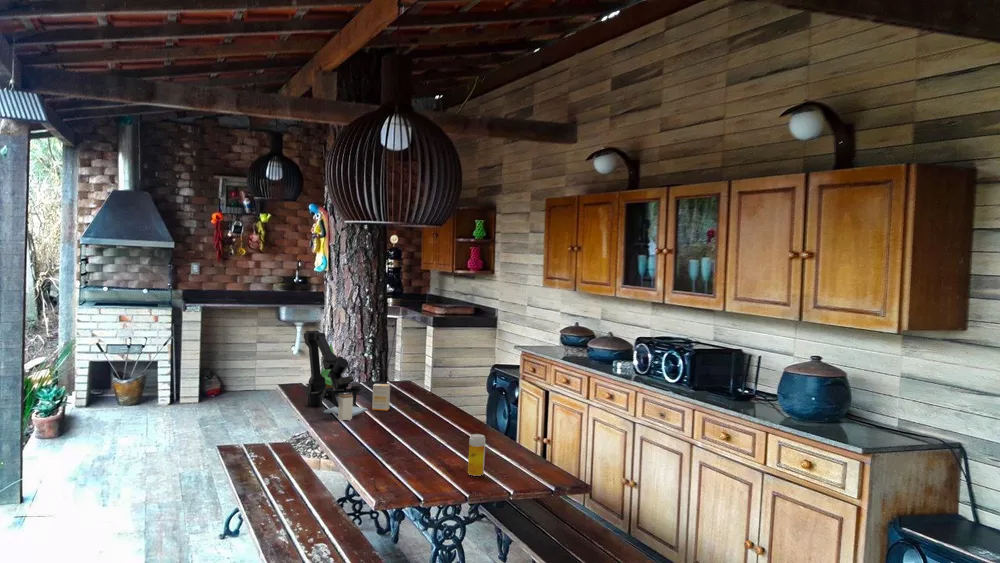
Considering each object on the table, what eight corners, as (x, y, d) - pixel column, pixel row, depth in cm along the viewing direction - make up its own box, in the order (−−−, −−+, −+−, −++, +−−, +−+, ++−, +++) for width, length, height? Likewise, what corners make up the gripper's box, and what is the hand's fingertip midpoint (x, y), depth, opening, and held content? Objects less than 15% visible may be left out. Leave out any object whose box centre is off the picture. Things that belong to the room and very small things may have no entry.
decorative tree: (332, 390, 417) (334, 339, 415) (346, 395, 405) (348, 342, 404) (310, 393, 408) (313, 340, 406) (324, 398, 396) (327, 343, 395)
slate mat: (323, 412, 362) (323, 410, 362) (339, 406, 377) (340, 404, 377) (352, 416, 357) (352, 414, 357) (367, 410, 372) (367, 408, 372)
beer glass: (467, 472, 277) (469, 433, 276) (483, 472, 277) (485, 434, 277) (467, 477, 271) (470, 437, 270) (484, 477, 271) (486, 438, 271)
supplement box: (389, 409, 378) (390, 384, 377) (387, 411, 373) (388, 385, 372) (374, 408, 378) (375, 383, 378) (371, 409, 374) (372, 384, 373)
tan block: (337, 418, 351) (338, 394, 350) (347, 417, 354) (348, 393, 353) (342, 421, 347) (343, 396, 346) (351, 419, 350) (353, 395, 350)
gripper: (325, 371, 347) (334, 398, 339) (360, 368, 359) (370, 395, 350) (317, 384, 353) (326, 411, 345) (351, 381, 365) (361, 407, 357)
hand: (346, 406), depth 349 cm, fingers open, 9 cm apart
